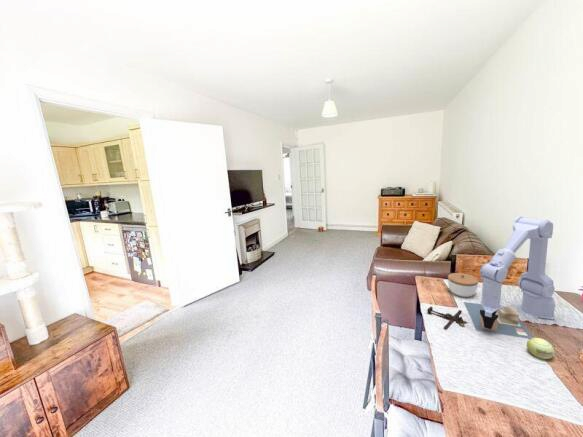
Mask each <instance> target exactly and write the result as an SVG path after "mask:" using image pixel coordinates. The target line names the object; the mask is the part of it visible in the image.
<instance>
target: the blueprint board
mask: <svg viewBox="0 0 583 437" xmlns="http://www.w3.org/2000/svg"><path fill="white" fill-rule="evenodd" d="M463 304H464V306H465V308H466V311H467V313H468V315H469V317H470V319H471V321H472V324H473V326H474V329H475V330H476V331H479V332H486V333H489V334H490V333H492V334H497V335H503V336H510V337H514V338H515V337H517V338H522V339H527V340H528V339H529V340H530V339H532V338H535V337H534V336H533V334H532V333H531V332H530V330H529V329H528V328H527V327H526V325H525V324H524V323H523V321H522V320H521V318H519V322H518V325H515V324H508V323H501V322H500V320H499V319H498V318H497V320H498V330H497V331H494V330H488V329H483V327H482V325H481V323H480V318H481V315H480V310H484V308H483V307H482V305H481V303H477V302H476V303H475V302H468V301H463ZM484 311H485V310H484Z"/></svg>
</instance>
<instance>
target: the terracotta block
mask: <svg viewBox="0 0 583 437" xmlns="http://www.w3.org/2000/svg"><path fill="white" fill-rule="evenodd" d="M480 323H481V325H482V327H483V329H488V328H485V327H484V323H483V318H482V316H481V318H480ZM488 330H494V331H497V330H498V320H497V319H496V320H495V321H494V323H493V326H492V329H488Z"/></svg>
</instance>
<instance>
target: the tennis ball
mask: <svg viewBox="0 0 583 437" xmlns="http://www.w3.org/2000/svg"><path fill="white" fill-rule="evenodd" d="M526 348H527V349H528V352H529V353H530V354H532V356H534V357H536V358H539V359H541V360H549V359H552V358H553V357H554V355H555V348H554V346H553V345H552V343H550V342H549V341H547V340H546V339H543V338H541V337H534V338H532V339H529V340H528V341H526Z"/></svg>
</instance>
